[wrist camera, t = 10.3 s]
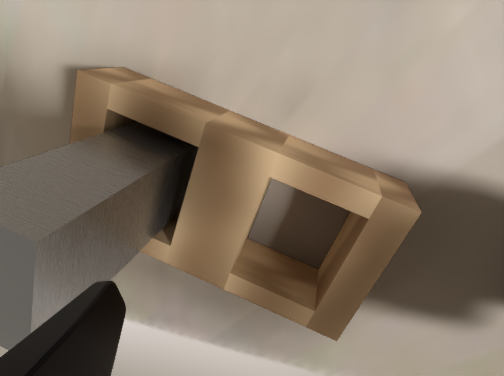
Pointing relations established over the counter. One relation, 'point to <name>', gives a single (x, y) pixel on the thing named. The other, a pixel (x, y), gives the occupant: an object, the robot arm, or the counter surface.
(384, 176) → the board with square holes
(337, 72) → the counter surface
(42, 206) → the grey square pillar
